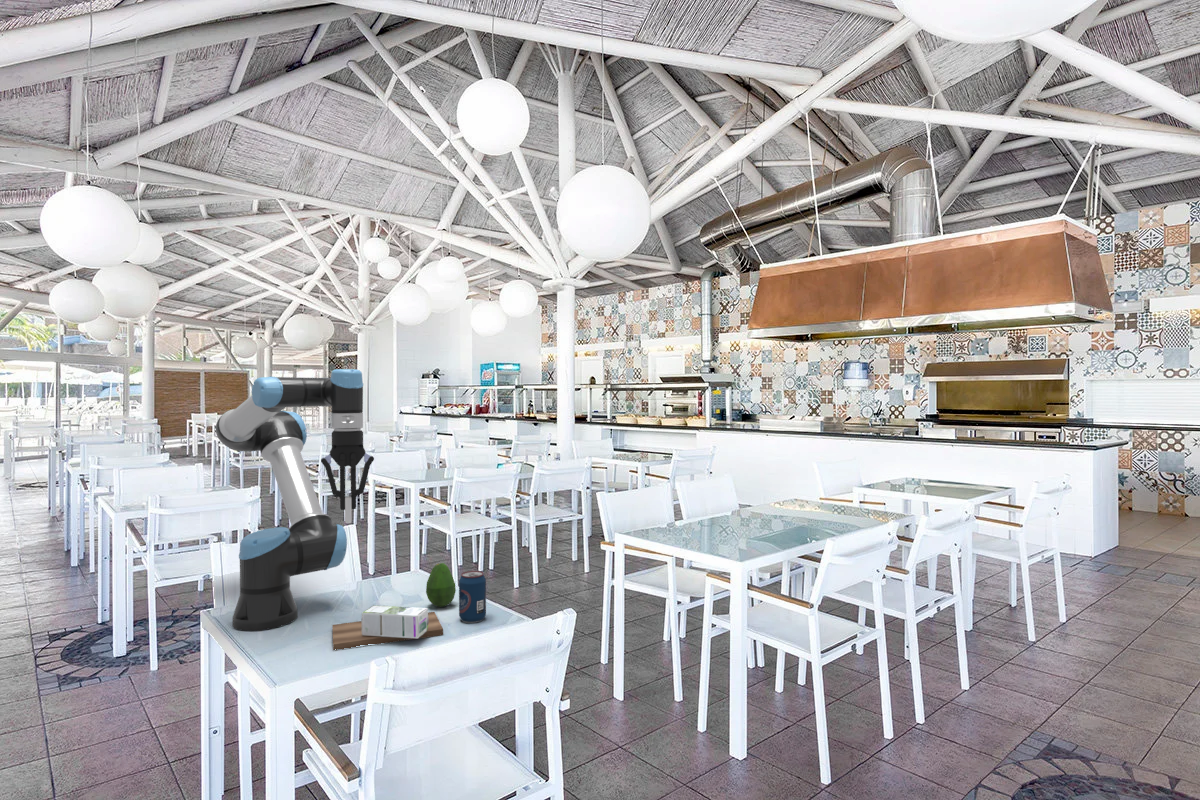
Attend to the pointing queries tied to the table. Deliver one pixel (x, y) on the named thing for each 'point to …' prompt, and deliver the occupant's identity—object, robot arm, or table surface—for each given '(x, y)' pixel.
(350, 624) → the walnut board
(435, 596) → the avocado
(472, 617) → the soda can
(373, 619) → the syrup box
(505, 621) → the table surface
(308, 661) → the table surface
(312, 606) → the table surface
